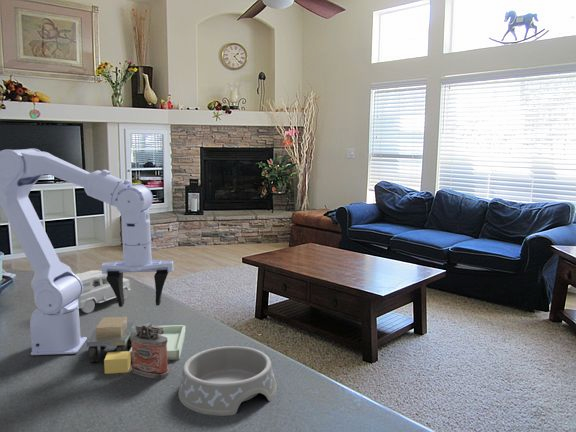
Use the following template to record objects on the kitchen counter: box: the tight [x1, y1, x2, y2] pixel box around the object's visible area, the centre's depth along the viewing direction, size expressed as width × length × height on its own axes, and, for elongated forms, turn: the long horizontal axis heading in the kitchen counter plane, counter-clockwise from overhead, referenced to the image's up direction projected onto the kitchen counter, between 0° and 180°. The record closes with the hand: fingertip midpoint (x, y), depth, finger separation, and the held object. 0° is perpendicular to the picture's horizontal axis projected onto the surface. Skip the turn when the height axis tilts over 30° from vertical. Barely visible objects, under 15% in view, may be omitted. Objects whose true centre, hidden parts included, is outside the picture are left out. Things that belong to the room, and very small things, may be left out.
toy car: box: [74, 269, 132, 314], centre depth 138 cm, size 10×20×10 cm, turn 151°
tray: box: [129, 324, 187, 362], centre depth 111 cm, size 10×14×2 cm
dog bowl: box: [177, 345, 278, 416], centre depth 93 cm, size 17×18×5 cm
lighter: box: [130, 322, 170, 380], centre depth 98 cm, size 8×3×10 cm, turn 68°
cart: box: [86, 316, 136, 363], centre depth 107 cm, size 8×11×7 cm
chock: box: [103, 350, 132, 375], centre depth 100 cm, size 4×4×3 cm
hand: (139, 304), depth 107 cm, fingers open, 7 cm apart
